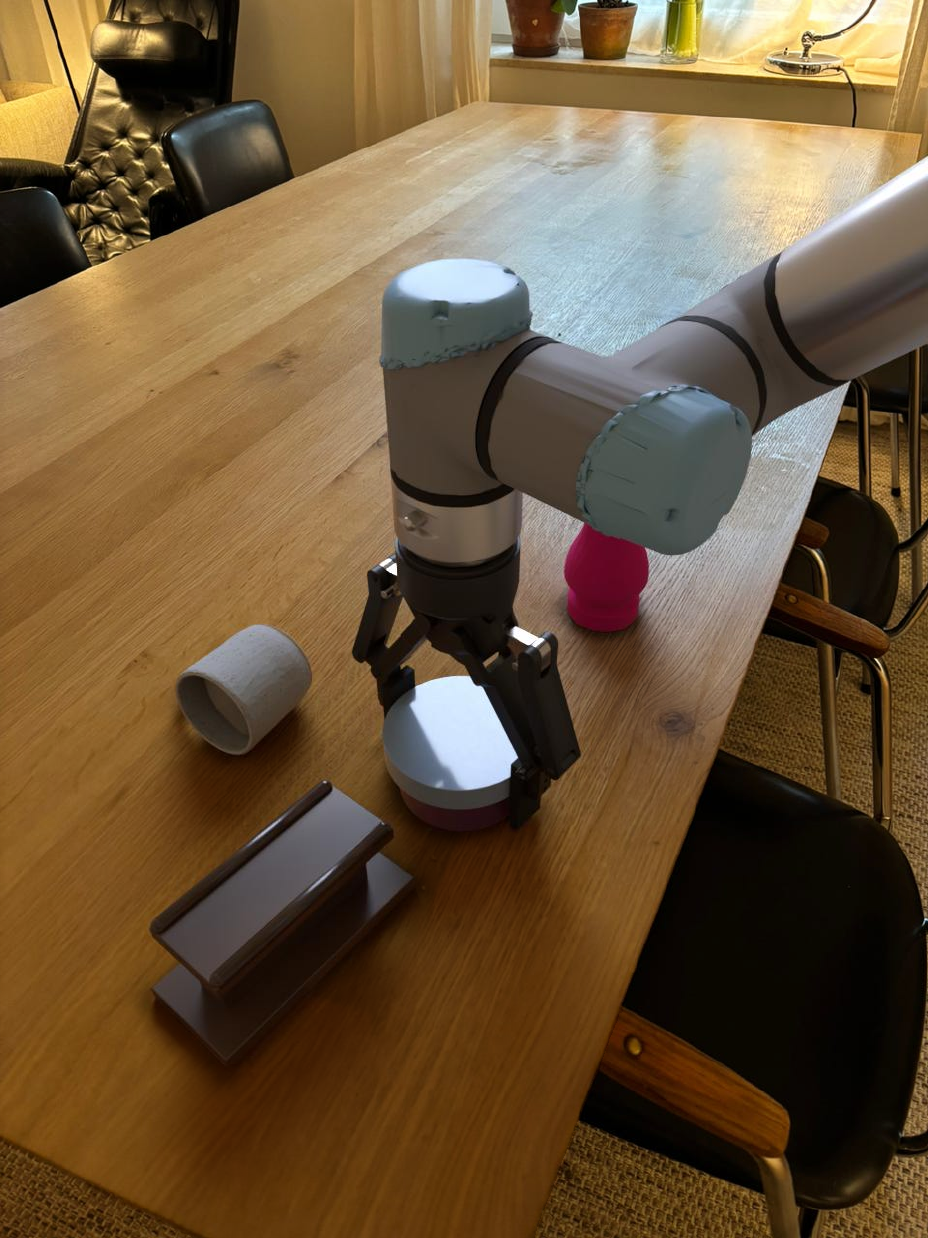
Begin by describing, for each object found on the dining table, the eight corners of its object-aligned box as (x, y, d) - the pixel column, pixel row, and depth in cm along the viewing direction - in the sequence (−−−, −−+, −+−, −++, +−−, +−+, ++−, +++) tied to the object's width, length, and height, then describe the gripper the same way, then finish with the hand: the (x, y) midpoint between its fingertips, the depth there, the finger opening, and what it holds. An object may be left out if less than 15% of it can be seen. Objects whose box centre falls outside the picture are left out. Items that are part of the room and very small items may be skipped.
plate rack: (415, 887, 66) (410, 816, 61) (229, 1071, 57) (205, 1005, 52) (341, 833, 70) (331, 762, 65) (154, 998, 60) (126, 930, 56)
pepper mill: (544, 608, 88) (555, 406, 75) (598, 574, 92) (617, 375, 79) (606, 648, 84) (629, 441, 71) (660, 610, 88) (691, 407, 75)
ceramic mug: (324, 702, 79) (312, 630, 75) (259, 770, 74) (241, 696, 69) (223, 659, 84) (206, 588, 79) (154, 721, 78) (131, 648, 73)
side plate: (568, 741, 71) (569, 721, 70) (471, 837, 65) (470, 818, 64) (452, 674, 77) (451, 655, 76) (351, 756, 70) (349, 737, 69)
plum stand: (548, 774, 74) (551, 742, 71) (469, 854, 68) (469, 822, 66) (454, 717, 78) (453, 685, 76) (373, 788, 73) (370, 756, 71)
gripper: (276, 490, 62) (313, 730, 76) (585, 651, 51) (561, 898, 65) (360, 442, 67) (380, 678, 81) (662, 580, 55) (623, 826, 69)
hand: (461, 776), depth 73 cm, fingers closed on side plate, 11 cm apart
